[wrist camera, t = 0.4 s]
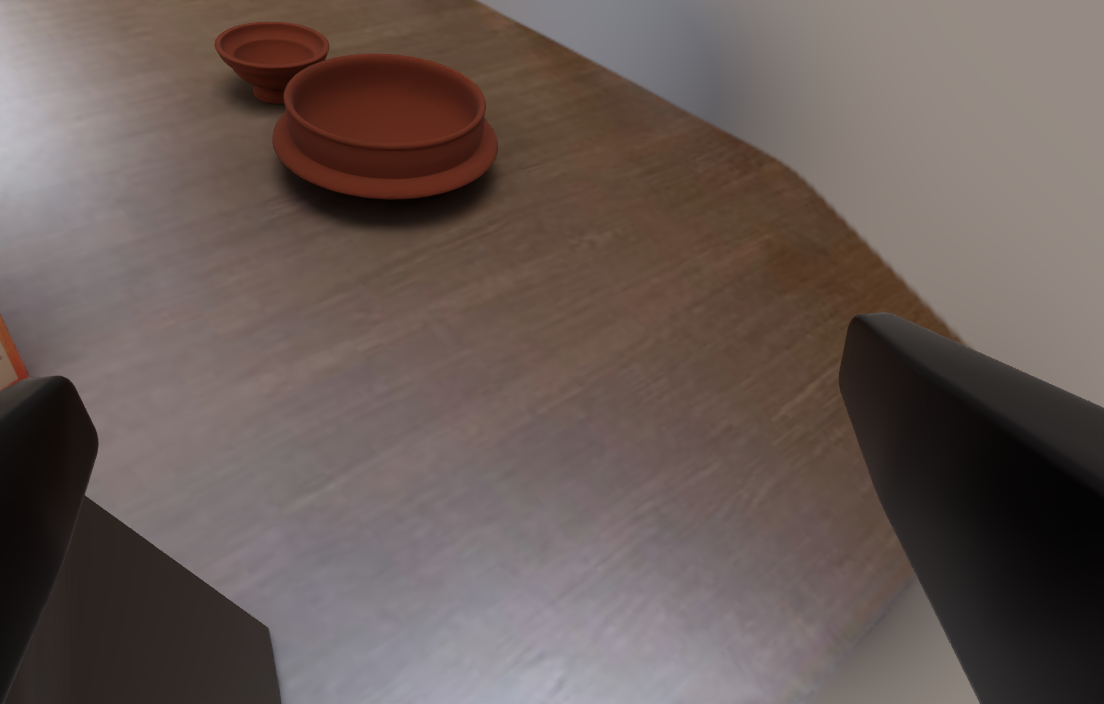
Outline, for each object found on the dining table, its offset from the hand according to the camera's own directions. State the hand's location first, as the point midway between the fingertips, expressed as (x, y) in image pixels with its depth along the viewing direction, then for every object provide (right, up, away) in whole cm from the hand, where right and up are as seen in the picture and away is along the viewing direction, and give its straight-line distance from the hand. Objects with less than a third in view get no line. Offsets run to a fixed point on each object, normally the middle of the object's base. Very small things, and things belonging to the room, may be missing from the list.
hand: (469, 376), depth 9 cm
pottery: (-11, +12, +36) cm, 40 cm away
